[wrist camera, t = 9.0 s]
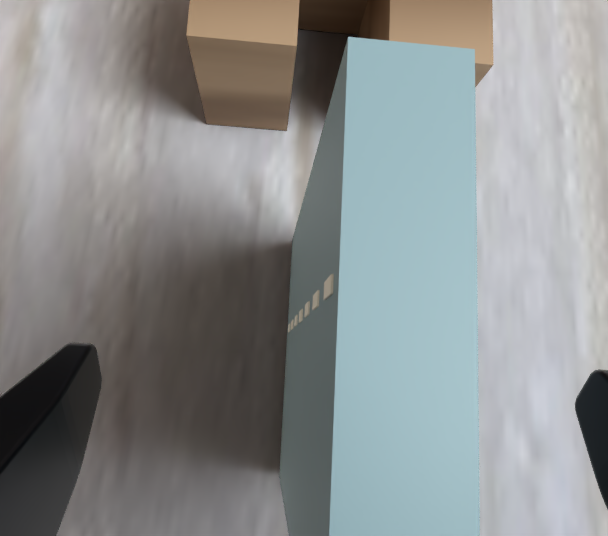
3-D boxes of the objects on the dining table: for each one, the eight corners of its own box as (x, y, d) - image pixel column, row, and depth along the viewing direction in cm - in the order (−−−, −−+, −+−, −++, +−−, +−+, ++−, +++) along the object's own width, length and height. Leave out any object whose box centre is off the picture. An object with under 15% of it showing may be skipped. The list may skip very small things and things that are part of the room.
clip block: (431, 142, 18) (493, 64, 14) (206, 123, 18) (186, 35, 13) (432, 17, 19) (490, -98, 14) (217, -5, 19) (203, -133, 14)
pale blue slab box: (332, 478, 16) (484, 736, 5) (278, 476, 16) (318, 736, 5) (340, 242, 17) (477, 49, 6) (291, 239, 17) (345, 36, 6)
